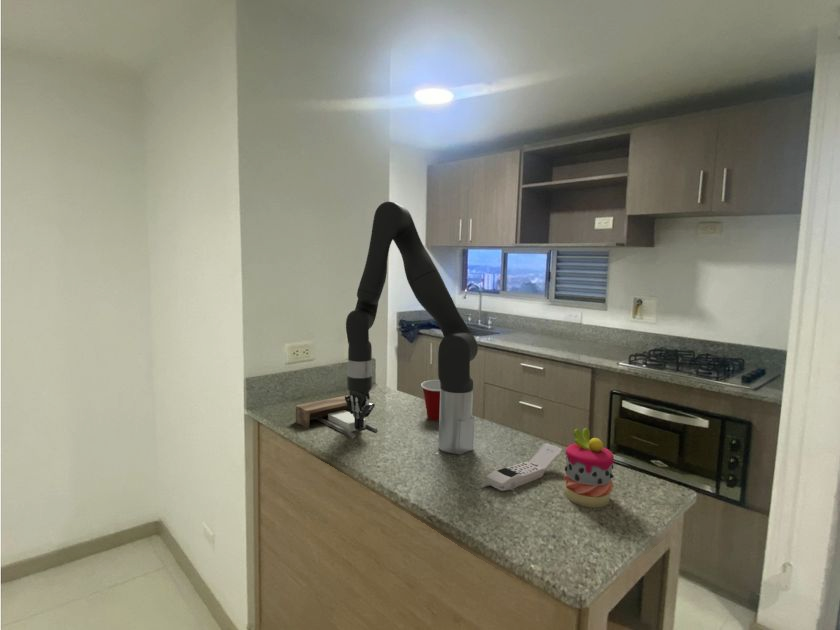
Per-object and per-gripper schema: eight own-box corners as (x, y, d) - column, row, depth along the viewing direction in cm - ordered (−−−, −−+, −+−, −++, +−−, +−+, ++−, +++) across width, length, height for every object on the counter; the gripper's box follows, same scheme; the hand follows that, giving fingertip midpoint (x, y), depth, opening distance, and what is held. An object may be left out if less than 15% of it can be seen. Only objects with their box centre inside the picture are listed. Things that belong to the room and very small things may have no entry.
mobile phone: (564, 448, 122) (497, 472, 106) (563, 470, 122) (496, 497, 107) (545, 441, 126) (478, 463, 111) (544, 463, 127) (478, 487, 111)
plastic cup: (415, 420, 157) (416, 385, 156) (425, 411, 167) (426, 378, 166) (446, 425, 153) (448, 389, 152) (455, 415, 164) (456, 381, 162)
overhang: (393, 426, 150) (393, 410, 150) (334, 443, 136) (334, 424, 135) (352, 409, 167) (352, 394, 167) (295, 421, 152) (295, 405, 152)
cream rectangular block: (365, 429, 149) (365, 419, 149) (348, 433, 145) (348, 423, 144) (344, 419, 158) (344, 410, 157) (328, 423, 153) (328, 413, 153)
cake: (619, 497, 108) (624, 434, 106) (597, 513, 101) (602, 446, 99) (576, 481, 116) (580, 422, 114) (554, 495, 108) (557, 432, 107)
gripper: (382, 376, 141) (381, 432, 143) (357, 368, 150) (356, 421, 152) (362, 380, 136) (361, 438, 138) (337, 371, 145) (336, 426, 147)
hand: (358, 429), depth 145 cm, fingers closed
